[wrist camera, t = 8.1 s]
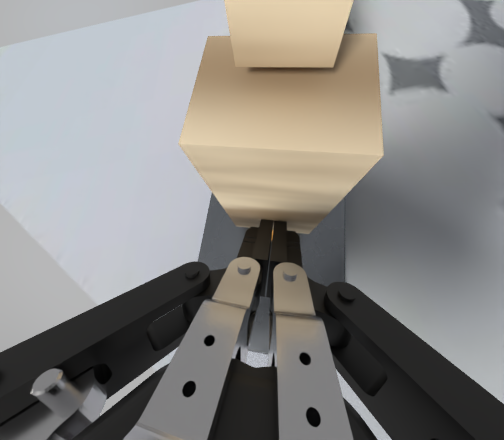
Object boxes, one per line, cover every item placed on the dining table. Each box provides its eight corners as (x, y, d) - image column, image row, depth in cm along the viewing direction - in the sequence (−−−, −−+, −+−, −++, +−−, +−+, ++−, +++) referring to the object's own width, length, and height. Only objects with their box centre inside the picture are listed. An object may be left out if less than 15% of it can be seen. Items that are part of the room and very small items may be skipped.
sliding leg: (305, 238, 14) (472, 62, 2) (239, 230, 15) (121, 61, 3) (316, 45, 19) (387, -303, 8) (267, 45, 20) (264, -276, 8)
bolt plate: (337, 360, 13) (752, 887, 2) (189, 333, 15) (-101, 540, 3) (341, 71, 20) (432, -189, 9) (240, 70, 22) (208, -156, 10)
